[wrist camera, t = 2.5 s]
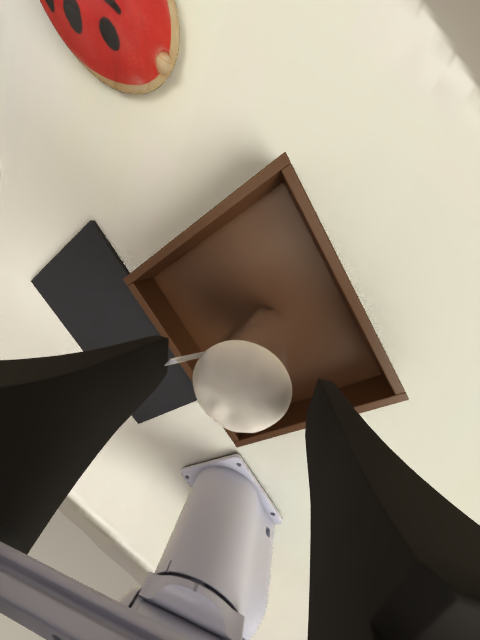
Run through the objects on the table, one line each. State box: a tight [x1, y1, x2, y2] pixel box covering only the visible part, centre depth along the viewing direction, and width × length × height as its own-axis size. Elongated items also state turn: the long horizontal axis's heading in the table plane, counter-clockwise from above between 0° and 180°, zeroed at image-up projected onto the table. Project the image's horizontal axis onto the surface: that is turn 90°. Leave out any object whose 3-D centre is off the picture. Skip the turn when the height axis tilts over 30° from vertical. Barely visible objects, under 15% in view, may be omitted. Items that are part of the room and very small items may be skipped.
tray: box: [123, 152, 409, 447], centre depth 16 cm, size 16×13×3 cm
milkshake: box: [164, 307, 292, 433], centre depth 13 cm, size 5×5×10 cm
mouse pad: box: [31, 220, 197, 424], centre depth 22 cm, size 18×10×1 cm, turn 32°
